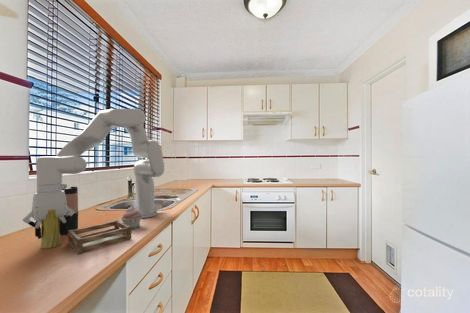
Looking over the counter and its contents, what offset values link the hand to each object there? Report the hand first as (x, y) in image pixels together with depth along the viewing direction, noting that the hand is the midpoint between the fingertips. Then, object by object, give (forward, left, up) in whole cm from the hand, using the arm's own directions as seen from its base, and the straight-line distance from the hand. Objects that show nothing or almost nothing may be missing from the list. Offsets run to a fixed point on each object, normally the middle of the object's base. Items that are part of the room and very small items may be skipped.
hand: (50, 234), depth 86 cm
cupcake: (-30, +2, -4) cm, 30 cm away
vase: (0, 0, -4) cm, 4 cm away
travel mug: (-8, -13, -4) cm, 16 cm away
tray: (-14, +10, -4) cm, 18 cm away
